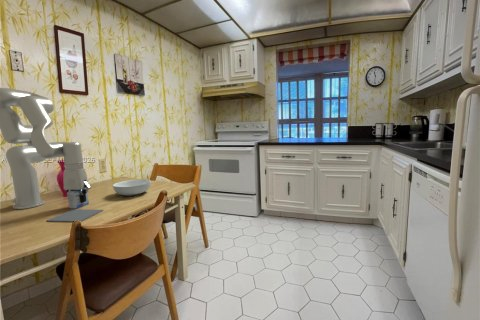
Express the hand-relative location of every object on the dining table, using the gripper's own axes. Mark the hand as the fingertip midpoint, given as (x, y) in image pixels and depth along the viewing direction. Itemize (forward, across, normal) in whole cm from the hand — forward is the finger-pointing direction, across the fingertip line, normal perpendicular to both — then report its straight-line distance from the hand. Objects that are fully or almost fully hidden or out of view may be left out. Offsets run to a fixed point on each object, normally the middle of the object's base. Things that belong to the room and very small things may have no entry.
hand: (78, 201), depth 121 cm
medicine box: (+3, 0, 0) cm, 3 cm away
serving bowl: (+3, +15, +24) cm, 28 cm away
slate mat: (+2, +10, -13) cm, 17 cm away
